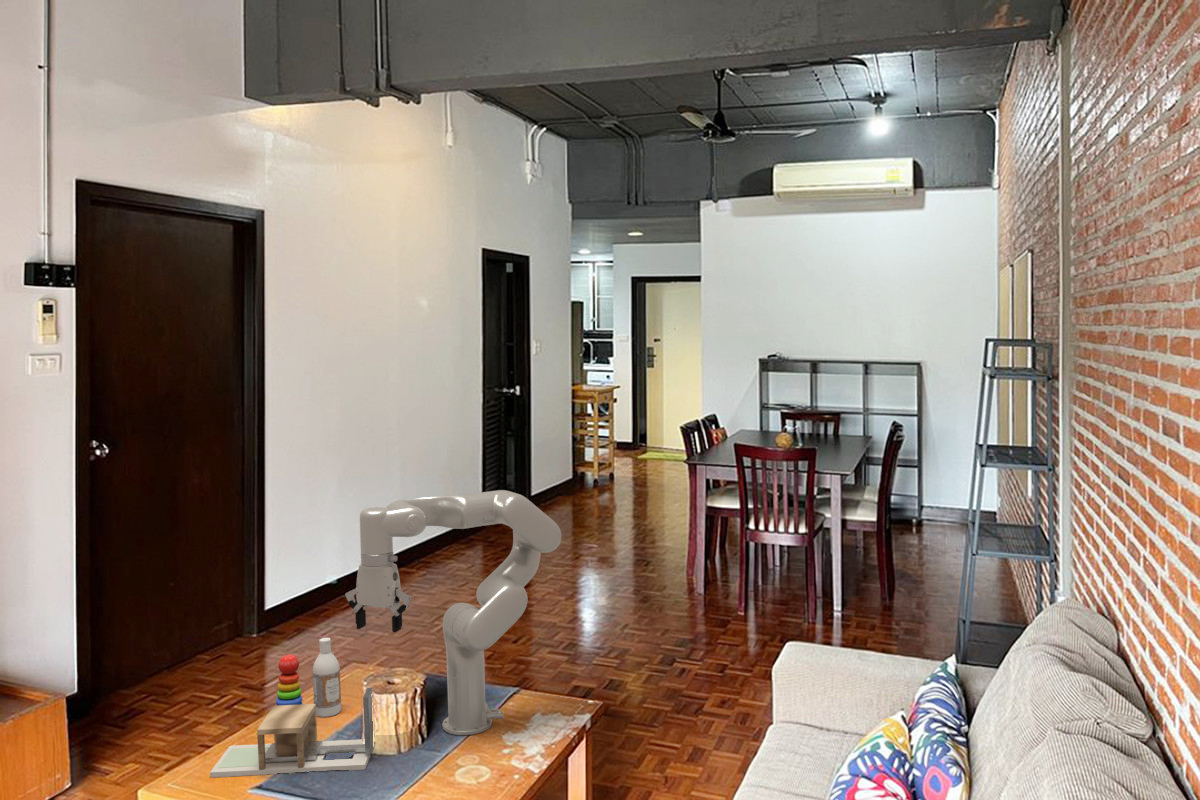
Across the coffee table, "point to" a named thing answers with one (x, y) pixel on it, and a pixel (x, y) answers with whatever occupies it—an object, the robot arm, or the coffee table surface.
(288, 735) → the walnut block
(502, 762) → the coffee table surface
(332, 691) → the bath foam
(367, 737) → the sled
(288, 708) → the tunnel
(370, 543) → the robot arm
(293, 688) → the stacking toy
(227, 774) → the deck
